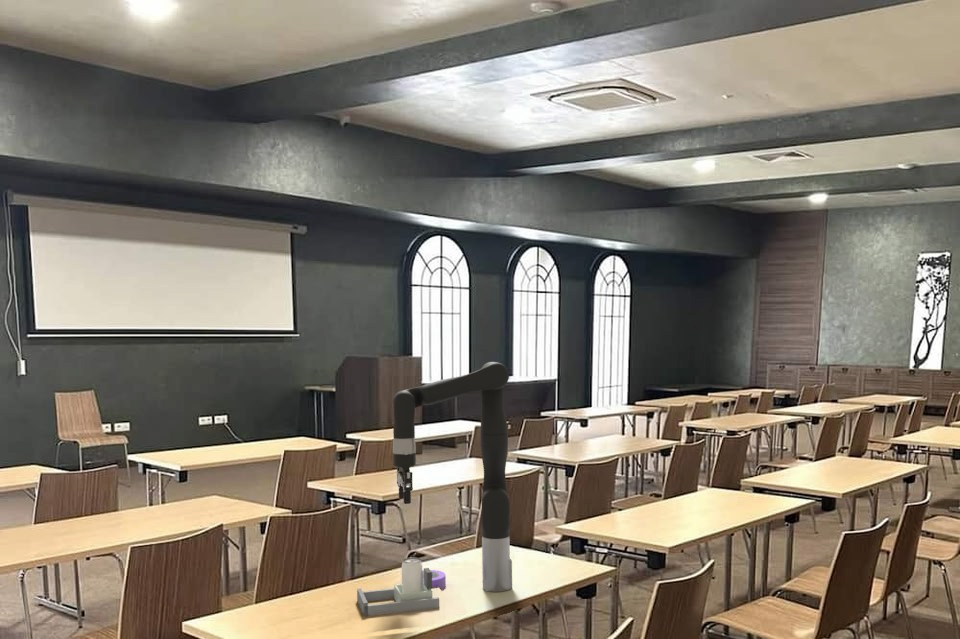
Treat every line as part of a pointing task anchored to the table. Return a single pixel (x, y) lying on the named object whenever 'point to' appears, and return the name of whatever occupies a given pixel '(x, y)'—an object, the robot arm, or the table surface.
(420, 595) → the sliding tray
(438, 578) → the masking tape
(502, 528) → the robot arm
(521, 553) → the table surface
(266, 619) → the table surface
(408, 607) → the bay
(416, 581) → the can
